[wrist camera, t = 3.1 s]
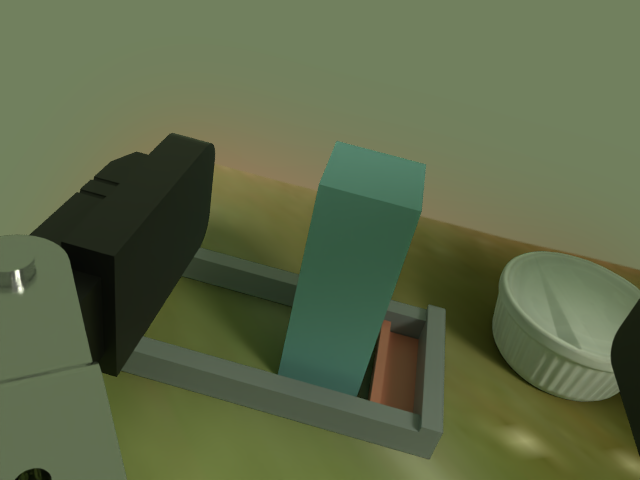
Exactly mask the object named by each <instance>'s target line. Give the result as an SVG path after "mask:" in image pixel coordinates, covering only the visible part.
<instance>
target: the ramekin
mask: <svg viewBox="0 0 640 480" xmlns="http://www.w3.org/2000/svg"><path fill="white" fill-rule="evenodd" d="M639 298H640V290H639V289H638V288H637V287H636V286H634V285H633V284H631V283H630V282H628V281H627V280H625V279H624V278H622V277H620V276H619V275H617V274H615V273H613V272H612V271H610V270H608V269H606V268H604V267H602V266H599V265H597V264H595V263H592V262H590V261H587V260H585V259H582V258H578V257H575V256H571V255H567V254H562V253H555V252H545V251H538V252H530V253H525V254H522V255H519V256H517V257H515V258H514V259H512V260H511V261H509V262H508V264H507V265H506V266H505V268H504V270H503V272H502V274H501V276H500V280H499V295H498V298H497V303H496V307H495V311H494V316H493V321H492V330H493V336H494V339H495V343H496V345H497V347H498V349H499V351H500V353H501V355H502V356H503V358H504V359H505V360H506V362H507V363H508V364H509V365H510V366H511V368H512V369H513V370H514V371H515V372H516V373H518V374H519V375H520V376H521V377H522V378H523V379H525V380H526V381H527V382H529V383H530V384H532V385H533V386H535V387H537V388H539V389H540V390H542V391H545V392H547V393H549V394H551V395H554V396H557V397H560V398H564V399H568V400H574V401H599V400H603V399H607V398H610V397H611V396H613V395H615V394H617V393H618V392H620V391H619V388H618V385H617V381H616V378H615V375H614V372H613V368H612V365H611V347H612V342H613V339H614V337H615V334H616V332H617V331H618V329H619V327H620V326H621V324H622V323H623V322H624V320H625V319H626V317H627V316H628V314H629V313H630V311H631V310H632V309H633V307H634V306H635V304H636V303H637V301H638V300H639Z"/></svg>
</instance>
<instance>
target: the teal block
mask: <svg viewBox="0 0 640 480" xmlns="http://www.w3.org/2000/svg"><path fill="white" fill-rule="evenodd" d="M425 169H426V164H423V163H419V162H415V161H411V160H407V159H404V158H400V157H396V156H392V155H388V154H385V153H380V152H376V151H373V150H369V149H365V148H361V147H358V146H354V145H350V144H346V143H343V142H339V141H337V142H336V144H335V146H334V149H333V151H332V154H331V156H330V159H329V161H328V164H327V166H326V169H325V171H324V173H323V176H322V178H321V181H320V183H319V187H318V192H317V196H316V201H315V205H314V210H313V215H312V219H311V224H310V228H309V233H308V238H307V242H306V247H305V251H304V256H303V261H302V265H301V270H300V274H299V279H298V284H297V288H296V293H295V298H294V302H293V307H292V311H291V316H290V321H289V325H288V330H287V334H286V339H285V344H284V348H283V353H282V357H281V362H280V367H279V371H278V375H281V376H284V377H288V378H292V379H295V380H299V381H302V382H306V383H309V384H313V385H316V386H320V387H323V388H327V389H330V390H334V391H337V392H341V393H344V394H348V395H351V396H355V397H357V395H358V392H359V389H360V386H361V383H362V380H363V377H364V375H365V372H366V369H367V366H368V363H369V360H370V357H371V355H372V352H373V349H374V346H375V343H376V340H377V337H378V335H379V332H380V329H381V326H382V323H383V320H384V317H385V315H386V312H387V309H388V306H389V303H390V300H391V297H392V295H393V292H394V289H395V286H396V283H397V280H398V277H399V275H400V272H401V269H402V266H403V263H404V260H405V257H406V255H407V252H408V249H409V246H410V243H411V240H412V237H413V235H414V232H415V229H416V226H417V223H418V220H419V217H420V215H421V212H422V201H423V190H424V180H425Z"/></svg>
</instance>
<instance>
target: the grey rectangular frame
mask: <svg viewBox="0 0 640 480" xmlns="http://www.w3.org/2000/svg"><path fill="white" fill-rule="evenodd" d="M182 276H184V277H187V278H191V279H194V280H198V281H202V282H205V283H209V284H212V285H216V286H220V287H223V288H227V289H230V290H234V291H238V292H241V293H245V294H248V295H252V296H256V297H259V298H263V299H266V300H270V301H274V302H277V303H281V304H284V305H288V306H292V307H293V302H294V298H295V293H296V288H297V284H298V279H299V274H295V273H291V272H288V271H284V270H280V269H277V268H273V267H270V266H266V265H262V264H259V263H255V262H251V261H248V260H244V259H240V258H237V257H233V256H229V255H226V254H222V253H219V252H215V251H211V250H208V249H204V248H199V250H198V251H197V253H196V254H195V256H194V257H193V259H192V261H191V262H190V264H189V265H188V267H187V268H186V270H185V271H184V273H183V275H182ZM445 313H446V309H444V308H440V307H436V306H433V305H428V307H427V310H426V309H422V308H419V307H415V306H411V305H408V304H404V303H401V302H397V301H393V300H390V303H389V306H388V309H387V312H386V315H385V317H384V320H383V323H382V326H381V329H380V332H379V335H378V338H377V344H376V351H375V357H374V363H373V369H372V376H371V382H370V388H369V394H368V400H365V399H362V398H358V397H355V396H351V395H348V394H344V393H341V392H337V391H334V390H330V389H327V388H323V387H320V386H316V385H313V384H309V383H306V382H302V381H299V380H295V379H292V378H288V377H284V376H281V375H277V374H274V373H270V372H267V371H263V370H260V369H256V368H253V367H249V366H246V365H242V364H239V363H235V362H232V361H228V360H225V359H221V358H218V357H214V356H211V355H207V354H204V353H200V352H197V351H193V350H189V349H186V348H182V347H179V346H175V345H172V344H168V343H165V342H161V341H158V340H154V339H151V338H147V337H144V336H143V337H142V338H141V340H140V342H139V343H138V345H137V346H136V348H135V349H134V351H133V352H132V354H131V356H130V357H129V359H128V360H127V362H126V363H125V365H124V366H123V368H122V370H121V371H124V372H128V373H131V374H135V375H138V376H142V377H145V378H149V379H152V380H155V381H159V382H162V383H166V384H169V385H173V386H176V387H180V388H183V389H187V390H190V391H194V392H197V393H201V394H204V395H208V396H211V397H215V398H218V399H221V400H225V401H228V402H232V403H235V404H239V405H242V406H246V407H249V408H253V409H256V410H260V411H263V412H267V413H270V414H274V415H277V416H281V417H284V418H287V419H291V420H294V421H298V422H301V423H305V424H308V425H312V426H315V427H319V428H322V429H326V430H329V431H333V432H336V433H340V434H343V435H347V436H350V437H353V438H357V439H360V440H364V441H367V442H371V443H374V444H378V445H381V446H385V447H388V448H392V449H395V450H399V451H402V452H406V453H409V454H413V455H416V456H419V457H423V458H426V459H430V457H431V455H432V453H433V451H434V449H435V447H436V445H437V443H438V442H439V440H440V438H441V436H442V434H443V406H444V359H445Z"/></svg>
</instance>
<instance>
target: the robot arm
mask: <svg viewBox="0 0 640 480" xmlns="http://www.w3.org/2000/svg"><path fill="white" fill-rule="evenodd" d="M214 162H215V148H214V145H213V144H212V143H208V142H204V141H200V140H197V139H193V138H190V137H186V136H182V135H179V134H175V133H171V134H169V135H168V136H167V137H166V138H165V139H164V140H163V141H162V142H161V143H160V144H159V145H158V146H157V147H156V148H155V149H154V150H153V151H152V152H151V153H150V154H149V155H147V154H143V153H140V152H134V153H132V154H129V155H126V156H124V157H121V158H119V159H116V160H114V161H111V162H110V163H109V164H108V165H107V166H105V167H104V168H103V169H102V170H101V171H100V172H99V173H98V174H97V175H95V176H94V180H90V181H89V182H88V183H87V184H85V185H84V186H83V187H82V188H81V189H80V193H78V192H77V193H75V194H74V195H73V196H72V197H71V198H70V199H69V200H68V201H67V202H65V203H64V205H62V206H61V207H60V208H59V209H58V210H57V211H56V212H54V213H53V214H52V215H51V216H50V217H49V218H48V219H47V220H45V221H44V222H43V223H42V224H41V225H40V226H39V227H38V228H37V229H35V230H34V231H33V232H32V233H31V234H30V235H6V236H0V480H127V478H126V473H125V469H124V465H123V461H122V456H121V452H120V448H119V444H118V440H117V435H116V431H115V427H114V423H113V418H112V414H111V410H110V406H109V401H108V397H107V393H106V389H105V384H104V380H103V376H102V373H105V374H108V375H112V376H115V377H117V376H118V374H119V373H120V371H121V370H122V368H123V366H124V365H125V363H126V362H127V360H128V359H129V357H130V356H131V354H132V352H133V351H134V349H135V348H136V346H137V345H138V343H139V342H140V340H141V338H142V337H143V335H144V334H145V332H146V331H147V329H148V328H149V326H150V324H151V323H152V321H153V320H154V318H155V317H156V315H157V314H158V312H159V310H160V309H161V307H162V306H163V304H164V303H165V301H166V299H167V298H168V296H169V295H170V293H171V292H172V290H173V289H174V287H175V285H176V284H177V282H178V281H179V279H180V278H181V276H182V275H183V273H184V271H185V270H186V268H187V267H188V265H189V264H190V262H191V261H192V259H193V257H194V256H195V254H196V253H197V251H198V250H199V248H200V246H201V244H202V241H203V239H204V236H205V233H206V230H207V226H208V221H209V213H210V203H211V193H212V182H213V172H214ZM611 365H612V368H613V372H614V375H615V378H616V381H617V385H618V388H619V391H620V394H621V398H622V401H623V404H624V407H625V410H626V414H627V417H628V420H629V423H630V427H631V430H632V433H633V436H634V440H635V443H636V446H637V449H638V452H639V456H640V298H639V300H638V301H637V303H636V304H635V306H634V307H633V309H632V310H631V311H630V313H629V314H628V316H627V317H626V319H625V320H624V322H623V323H622V324H621V326H620V327H619V329H618V331H617V332H616V334H615V337H614V339H613V342H612V347H611Z"/></svg>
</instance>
